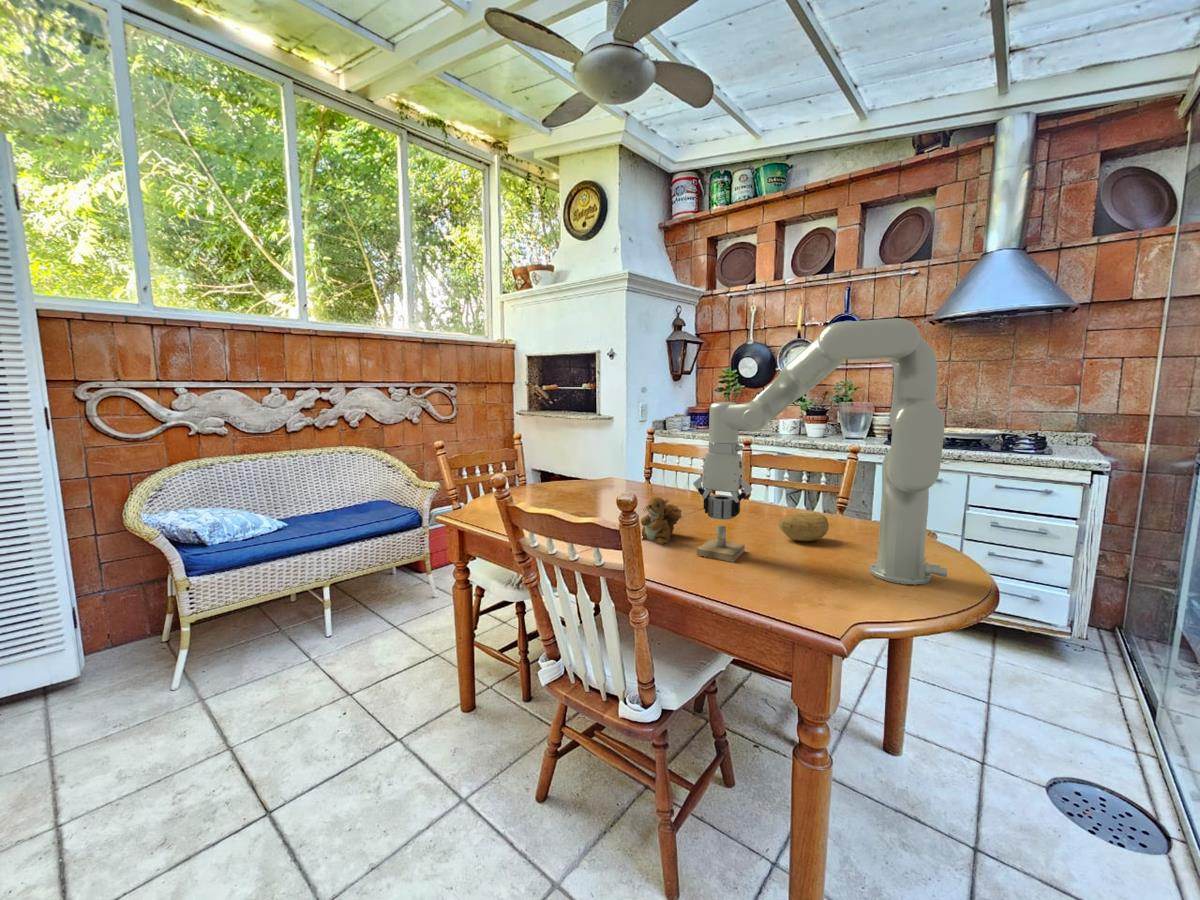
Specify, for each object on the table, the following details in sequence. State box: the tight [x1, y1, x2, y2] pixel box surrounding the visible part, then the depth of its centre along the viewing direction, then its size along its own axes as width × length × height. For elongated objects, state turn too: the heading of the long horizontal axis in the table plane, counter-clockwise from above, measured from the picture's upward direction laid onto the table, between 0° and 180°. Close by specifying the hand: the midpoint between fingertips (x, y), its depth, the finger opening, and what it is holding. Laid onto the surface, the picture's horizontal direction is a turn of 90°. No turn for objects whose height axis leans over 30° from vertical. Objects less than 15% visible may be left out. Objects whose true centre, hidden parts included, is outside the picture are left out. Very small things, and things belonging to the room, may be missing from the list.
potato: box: [778, 512, 830, 542], centre depth 150 cm, size 10×14×8 cm
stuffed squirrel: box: [640, 495, 683, 545], centre depth 154 cm, size 10×14×13 cm
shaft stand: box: [696, 525, 746, 563], centre depth 139 cm, size 10×10×8 cm
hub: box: [707, 494, 735, 520], centre depth 138 cm, size 7×7×5 cm
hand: (721, 513), depth 138 cm, fingers closed on hub, 6 cm apart
